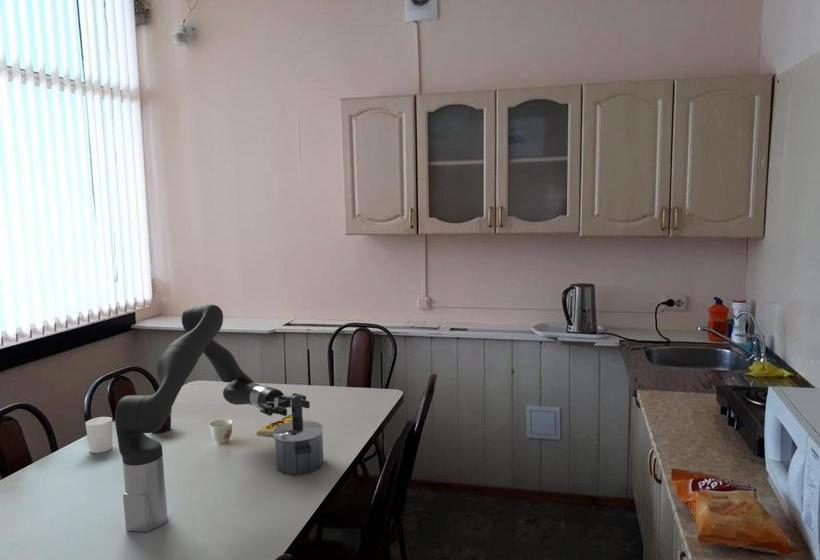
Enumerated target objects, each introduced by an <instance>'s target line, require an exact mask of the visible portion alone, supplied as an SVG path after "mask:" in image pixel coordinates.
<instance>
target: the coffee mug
mask: <svg viewBox="0 0 820 560" xmlns="http://www.w3.org/2000/svg"><path fill="white" fill-rule="evenodd" d="M172 409H173V407H172V408H171V410H170V412H169V415H168V417H167V419H166V421H165V423H164V424H163V426H162V427H161V428H160V429H159V430H158V431H157V432H154V433H156V435H159V433H161V434H165V433H168V432H170V431H171V430H172V429H171V428H172V412H173V411H172ZM170 429H171V430H170ZM169 430H170V431H169ZM167 431H168V432H167ZM154 433H153V434H154Z"/></svg>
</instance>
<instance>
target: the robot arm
mask: <svg viewBox="0 0 820 560" xmlns="http://www.w3.org/2000/svg"><path fill="white" fill-rule="evenodd" d="M181 323H182V327H183V329H184V331H185V334H183V335H181V336H179V337H178V338H177V339H175V340H174V341H172V342H171V343H170V344H169V345H168V346H167V347H166V348H165V350H164V351H163V353H162V354H161V355H160V357H159V358H158V360H157V363H156V375H157V378H158V381H159V387H158V389H157V390H156V391H155V393H153V394H151V395H149V394H148V395H147V394H146V395H145V394H144V395H141V394H140V395H139V394H138V395H134V394H133V395H125V396H123V397H121V398H120V399H119V401H118V402H117V405H116V407H115V412H114V415H115V416H114V422H115V429H116V430H115V431H116V436H117V444H118V450H119V453H120V455H121V458H122V467H123V479H124V480H123V481H124V493H123V495H122V497H123V498H122V500H123V509H124V510H123V511H124V520H125V521H124V522H125V530H126V531H130V532H132V531H133V532H138V533H139V532H140V533H141V532H142V533H149V532H151V530H153V529H154V530H155V529H157V528H158V527H160V526H163V525H164V524H165V523H166V522H167V520H168V507H167V492H166V482H165V481H166V478H165V468H164V454H163V445H162V444H161V443H160V441H158V440H155V439H153V438H152V437H149V436H147V435H146V434H154V432H157V431H158V430H159V429H160V428H161V427H162V426H163V424H164V423H165V421H166V419H167V417H168V415H169V412H170V410H171V408H172V409H173V405H174V404H175V401H176V399H177V397H178V395H179V393H180V391H181V390H182V388H183V386H184V384H185V383H186V381H187V379H188V378H189V376H190V375H191V373H192V372H193V370H194V368H195V367H196V365H197V364H198V361H199V359H200V358H201V356H202V355H203V354H204V355H205V357H206V358H207V359H208V360H209V362H210V363H211V365H212V367H213V368H214V369H215V372H216V373H217V376H218V377H219V379H220V380H221V382H223V383H225V384H226V383H228V384H227V385H226V386H225V387H224V389H222V390H223V391H222V396H223V398H224V400H225V401H226V402H228V403H229V404H232V405H236V406H241V405H251V406H253V407H255V408H257V409H259V411H260V413H261V414H264V415H267V416H270V417H271V416H273V414H274V415H281V416H284V417H287V416H288V409H289V408H290V409H292V406H291V396H292V395H302V408H304V409H310V405H311V404H310V401H309V400H307V395H303V394H300V393H296V392H294V393H292V395H285V394H284V393H283V391H282V390H280V389H278V388H275V387H271V386H267V385H262V384H259V383H256V382H254V381H253V379H252V378H251V377H249V376H248V375H247V374H246V373H245V371H243V370H242V369H241V367H240V366H239V364H238V362H237V359H235V357H234V355H233V354H232V352H231V351H230V350H228V349H227V348H226V347H225V346H223V345H222V344H220V343H218V342H217V341H216V340H214V338H215V337H216V336H217V334H219V332H220V330H221V328H222V326H223V323H224V313H223V311H222V309H221V307H219V306H218V305H216V304H203V305H196V306H191V307H187V308H185V309H184V311H182V315H181Z"/></svg>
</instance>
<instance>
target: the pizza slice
mask: <svg viewBox="0 0 820 560" xmlns="http://www.w3.org/2000/svg"><path fill="white" fill-rule="evenodd" d="M288 422H292V413H291V414H287V416H284V417H283V418H281V420H276V421H274V422H270V424H267V425H265V426H262V427H261V428H260V429H258V430H256V432H255V433H256V435H257V436H261V435H263V436H262V437H270V436H273V430H274V429H275V428H276V427H277V426H279V425H281V424H284V423H288Z"/></svg>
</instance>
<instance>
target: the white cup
mask: <svg viewBox="0 0 820 560" xmlns="http://www.w3.org/2000/svg"><path fill="white" fill-rule="evenodd" d="M85 428H86V436H87V441H88V446H89V451H90V453H91V454H100V453H104V452H105V453H106V452H108V451H110V450H112V449H113V418H112V417H111V416H100V417H94V418H92V419H91V418H90V419H89V420H87V421H85Z"/></svg>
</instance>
